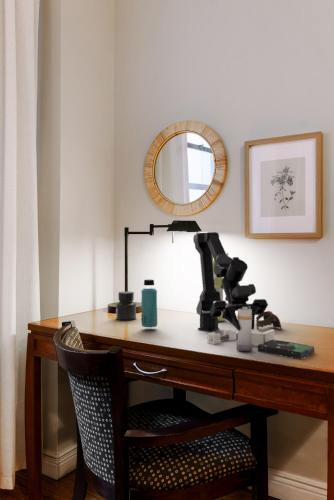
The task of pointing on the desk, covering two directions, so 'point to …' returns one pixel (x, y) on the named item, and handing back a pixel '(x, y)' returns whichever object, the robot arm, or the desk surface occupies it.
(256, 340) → the end holder
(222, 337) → the cable
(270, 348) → the disk drive
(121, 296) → the ink bottle
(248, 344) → the white squeeze bottle
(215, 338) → the cable clips
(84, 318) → the desk surface
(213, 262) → the trophy
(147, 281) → the beverage bottle
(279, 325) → the dark brown curved piece
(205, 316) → the robot arm
